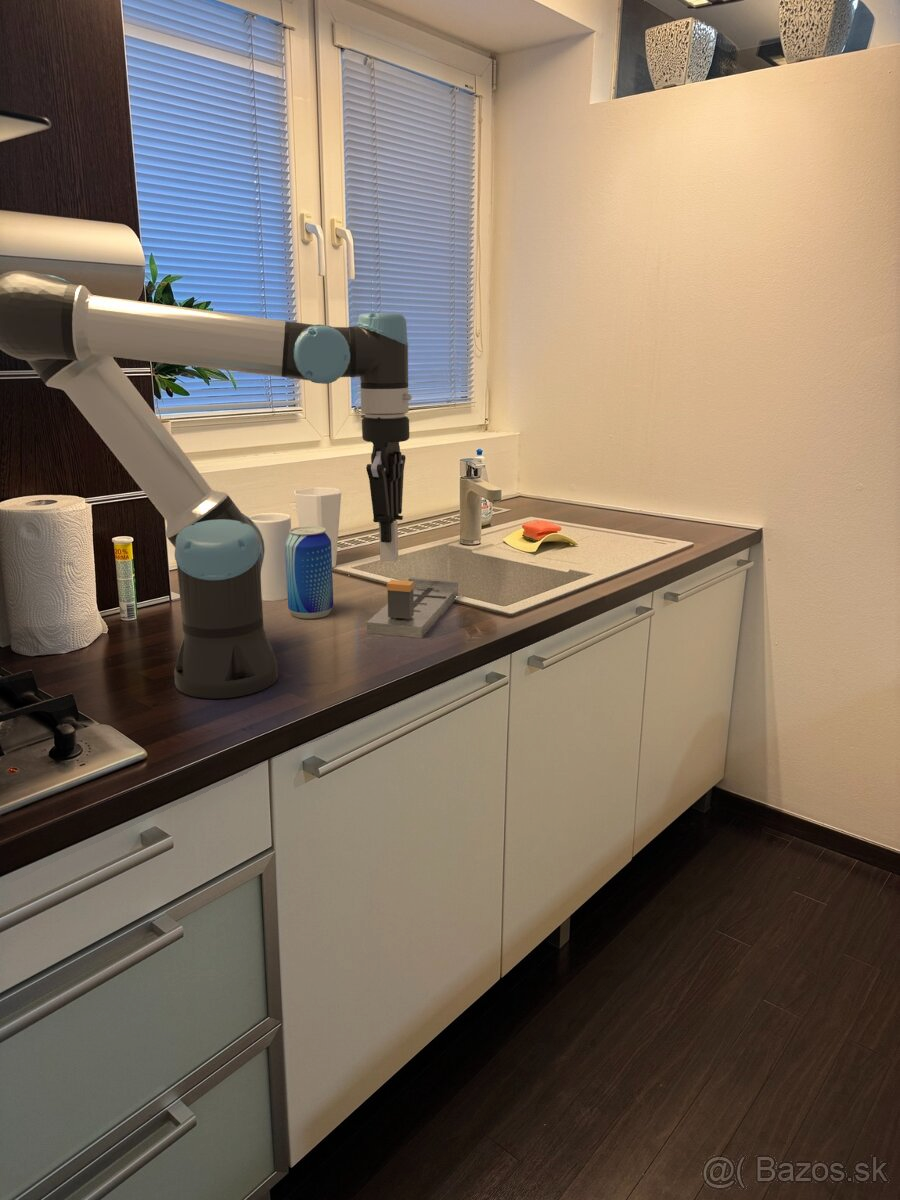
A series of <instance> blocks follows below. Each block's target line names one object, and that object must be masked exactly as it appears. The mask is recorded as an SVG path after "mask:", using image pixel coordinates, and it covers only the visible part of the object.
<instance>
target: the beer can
mask: <svg viewBox="0 0 900 1200" xmlns="http://www.w3.org/2000/svg"><path fill="white" fill-rule="evenodd" d="M325 531H326V529H325V528H322V527H316V526H303V527H299V526H297V527H291V529H290V530H289V532H290V534H289V536H288V538H287V539H286V541H285V555H286V575H287V594H288V599H287V608H288V610H289V611H290V612H291V613H292V616H293V617H295V618H298V619H304V620H305V619H308V620H309V619H311V620H312V619H319V618H320V619H321V618H324V617H326V616H328V615H329V614H330V613H331V610H332V609H333V608H334V584H333V568H332V550H331V540H330V538H329V537H328V535H327V534H326V532H325Z"/></svg>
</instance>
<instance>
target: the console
mask: <svg viewBox="0 0 900 1200" xmlns="http://www.w3.org/2000/svg"><path fill="white" fill-rule="evenodd" d="M408 581H414V589H413V596H414V615H413V616H412V617H411V618H410V619H403V618H392V617H388V603H386V605H384V606H383V607H382V608H380V610H379V611H377V612H376V613H375V614H374V615H373V616H371V618H369V619H368V620H367V621H366V633H367V634H376V635H382V636H383V635H384V636H385V635H388V636H394V637H395V636H396V637H407V638H415V639H416V638H418V639H422V638H423V637H424V636H425V635H426V633H428V631H429V630H430V629H431V628H432V627H433V626H434V625H435V623H436V622H437V621H438V620H439V619H440V618H441V617H442V615H443V614H445V612H446V611H447V610H448V608H450V607H451V605H452V604H453V603H454V602H455V600H456V599H457V598H456V596H458V597H459V580H449V579H436V578H422V577H410V576H409V578H408ZM455 598H456V599H455Z"/></svg>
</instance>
